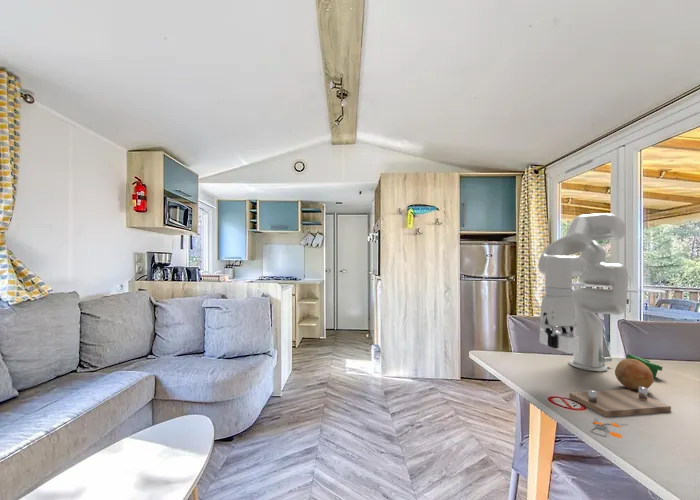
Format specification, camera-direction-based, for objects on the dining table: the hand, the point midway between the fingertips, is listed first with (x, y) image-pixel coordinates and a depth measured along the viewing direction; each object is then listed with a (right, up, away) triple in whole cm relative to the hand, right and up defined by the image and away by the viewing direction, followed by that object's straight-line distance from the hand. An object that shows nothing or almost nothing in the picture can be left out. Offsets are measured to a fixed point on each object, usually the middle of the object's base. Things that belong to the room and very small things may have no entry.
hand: (558, 346), depth 111 cm
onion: (+25, -14, -1) cm, 29 cm away
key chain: (-4, -14, -27) cm, 30 cm away
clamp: (+42, -15, +15) cm, 47 cm away
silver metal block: (0, 0, 0) cm, 0 cm away
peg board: (+10, -14, -13) cm, 21 cm away
